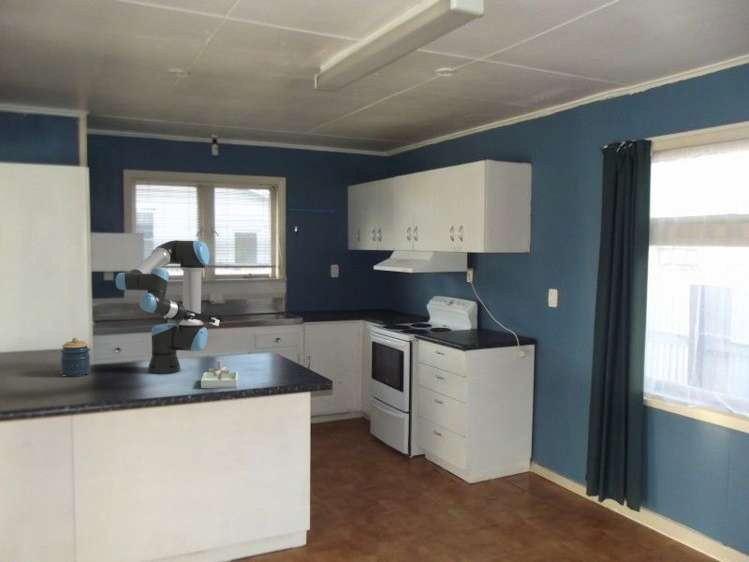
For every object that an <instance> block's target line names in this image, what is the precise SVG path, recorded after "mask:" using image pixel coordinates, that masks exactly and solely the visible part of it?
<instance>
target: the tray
mask: <svg viewBox="0 0 749 562" xmlns="http://www.w3.org/2000/svg"><path fill="white" fill-rule="evenodd" d="M237 383H239V371H231V373H230V374H224V373H222V380H218V375H217V376H214V375H213V373H210V372H209V371H205V372H204V373H203V374H202V378H201V380H200V389H201V388H220V389H237V388H238V384H237Z"/></svg>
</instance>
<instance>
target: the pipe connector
mask: <svg viewBox="0 0 749 562" xmlns="http://www.w3.org/2000/svg"><path fill="white" fill-rule="evenodd" d="M222 362H223V361H222V360H221V359H218V360H217V368H209V369H208V372H210V373H213V375H214V376H217V375H218V380H222V373H224V374H230V373H231V372H232V370H231V369H227V367H226V366H223V363H222Z"/></svg>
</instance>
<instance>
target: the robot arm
mask: <svg viewBox="0 0 749 562" xmlns="http://www.w3.org/2000/svg"><path fill="white" fill-rule="evenodd" d="M209 263H210V250H209V247H208V245H207V243H205V242H204V241H201V240H179V239H178V240H169V241H167V242H165V243H162V244H160V245H158V246H156V247H155V248H154V249H152V251H151V253H150V255H148V256H147V257H146V258H145V259H143V260H142V261H141V262H140V263H138V264H137V265H136V266H134V267H133V268H132V269H131V270H130V271H128V272H119V273H117V275H116V277H115V286H116V288H117V289H118V290H122V291H140V292H141V291H145V293H143V294H142V295H141V297H140V299H139V303H138V304H139V307H140V309H141V310H143V311H145V312H147V313H151V314H154V315H157V316H161V317H163V318H164V319H167V318H168V319H170V320H173V321H180V320H181V321H180V322H179V323H178V325H177V323H175V322H172V323H171V322H169V323H162V324H156V325H154V326H153V327H152V328H151V335H150V336H151V357H150V360H149V364H148V365H147V366H148V367H147V368H148V369H147V371H148V373H151V374H157V375H161V374H163V375H164V374H172V373H173V374H174V373H177V372H180V371H181V363H180V361H179V360H180V359H178V358H179V357H178V355H177V351H187V352H200V351H202V350H203V349H204V348H205V347H206V344H207V341H208V336H209V335H208V334H209V332H208V329H207V327H204V322H206V324H209V325H210V324H211V325H214V326H216V327H219V324H220V321H221V320H220V319H217V318H214V317H212V316H211V315H205V314H202V313H201V312H202V310H201V309H202V308H201V307H202V276H203V275H202V272H203V271H204V270H205V269H206V266H207V265H209ZM168 265H180V266H179V267H180V269H181V270H182V272H183V274H182V275H183V276H182V277H183V279H182V280H183V281H182V303H179V302H176V301H173V300H170V299H166V296H167V290H168V284H169V276H170V275H169V274H170V273H169V271H168V270H166V269H164V268H162V267H166V266H168ZM146 291H147V292H146Z"/></svg>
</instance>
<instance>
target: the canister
mask: <svg viewBox="0 0 749 562" xmlns="http://www.w3.org/2000/svg"><path fill="white" fill-rule="evenodd" d="M61 347H62V349H60V351H59V352H60V353H61V356H60V374H62V375H66V376H78V375H84V376H86V375H85V374H88V375H89V374H90V373H91V354H90V350H91V348H90V347H89V344H88V343H87V342H86V341H84V340H79V338H77V337H73V338H72V339H71V340H70V341H67V342H65V343H63V344H62V345H61ZM62 375H61V376H62Z"/></svg>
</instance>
